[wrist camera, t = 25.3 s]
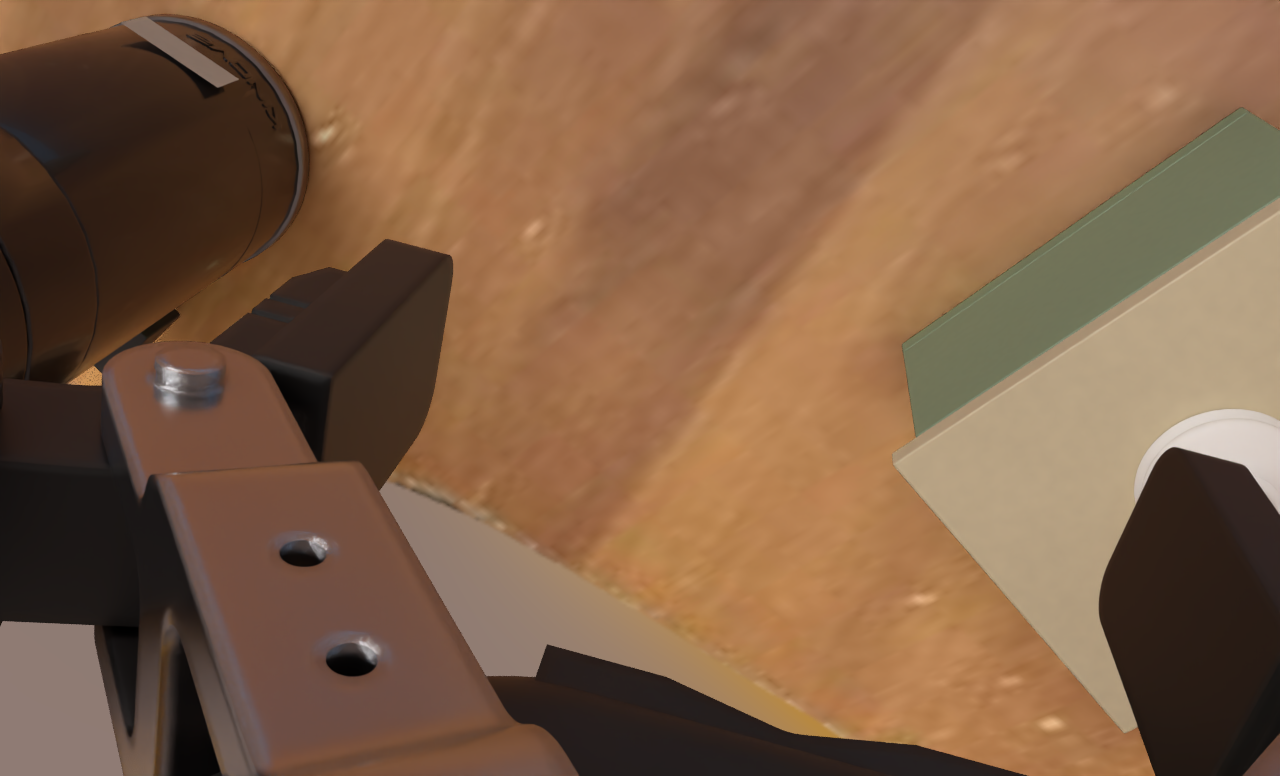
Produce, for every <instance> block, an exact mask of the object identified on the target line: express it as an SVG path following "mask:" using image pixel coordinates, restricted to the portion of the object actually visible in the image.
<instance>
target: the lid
mask: <svg viewBox="0 0 1280 776" xmlns="http://www.w3.org/2000/svg"><path fill="white" fill-rule="evenodd" d="M1221 409H1244V410H1251V411H1256V412H1260V413H1263V414H1266V415H1269V416H1271V417H1273V418H1275V419H1277V420H1279V421H1280V198H1278V199H1277V200H1275V201H1274V202H1272V203H1271V204H1269V205H1268V206H1266V207H1265V208H1263V209H1262V210H1260V211H1259V212H1257V213H1256V214H1254V215H1253V216H1251V217H1250V218H1248V219H1247V220H1245V221H1243V222H1242V223H1240V224H1239V225H1237V226H1236V227H1234V228H1233V229H1231V230H1230V231H1228V232H1227V233H1225V234H1224V235H1222V236H1221V237H1219V238H1218V239H1216V240H1215V241H1213V242H1212V243H1210V244H1209V245H1207V246H1206V247H1204V248H1203V249H1201V250H1200V251H1198V252H1197V253H1195V254H1194V255H1192V256H1190V257H1189V258H1187V259H1186V260H1184V261H1183V262H1181V263H1180V264H1178V265H1177V266H1175V267H1174V268H1172V269H1171V270H1169V271H1168V272H1166V273H1165V274H1163V275H1162V276H1160V277H1159V278H1157V279H1156V280H1154V281H1153V282H1151V283H1150V284H1148V285H1147V286H1145V287H1144V288H1142V289H1140V290H1139V291H1137V292H1136V293H1134V294H1133V295H1131V296H1130V297H1128V298H1127V299H1125V300H1124V301H1122V302H1121V303H1119V304H1118V305H1116V306H1115V307H1113V308H1112V309H1110V310H1109V311H1107V312H1106V313H1104V314H1103V315H1101V316H1100V317H1098V318H1097V319H1095V320H1094V321H1092V322H1091V323H1089V324H1087V325H1086V326H1084V327H1083V328H1081V329H1080V330H1078V331H1077V332H1075V333H1074V334H1072V335H1071V336H1069V337H1068V338H1066V339H1065V340H1063V341H1062V342H1060V343H1059V344H1057V345H1056V346H1054V347H1053V348H1051V349H1050V350H1048V351H1047V352H1045V353H1044V354H1042V355H1041V356H1039V357H1038V358H1036V359H1034V360H1033V361H1031V362H1030V363H1028V364H1027V365H1025V366H1024V367H1022V368H1021V369H1019V370H1018V371H1016V372H1015V373H1013V374H1012V375H1010V376H1009V377H1007V378H1006V379H1004V380H1003V381H1001V382H1000V383H998V384H997V385H995V386H994V387H992V388H991V389H989V390H988V391H986V392H985V393H983V394H981V395H980V396H978V397H977V398H975V399H974V400H972V401H971V402H969V403H968V404H966V405H965V406H963V407H962V408H960V409H959V410H957V411H956V412H954V413H953V414H951V415H950V416H948V417H947V418H945V419H944V420H942V421H941V422H939V423H938V424H936V425H935V426H933V427H932V428H930V429H928V430H927V431H925V432H924V433H922V434H921V435H919V436H918V437H916V438H915V439H913V440H912V441H910V442H909V443H907V444H906V445H904V446H903V447H901V448H900V449H898V450H897V451H895V452H894V453H893V454H892V460H893V466H894V467H895V468H896V469H897V470H898V472H899V473H900V474H901V475H902V476H903V477H904V478H905V480H906V481H907V482H908V483H909V484H910V485H911V487H912V488H913V489H914V490H915V491H916V492H917V494H918V495H919V496H920V497H921V498H922V499H923V501H924V502H925V503H926V504H927V505H928V506H929V508H930V509H931V510H932V511H933V512H934V513H935V515H936V516H937V517H938V518H939V519H940V520H941V521H942V523H943V524H944V525H945V526H946V527H947V528H948V530H949V531H950V532H951V533H952V534H953V535H954V537H955V538H956V539H957V540H958V541H959V542H960V544H961V545H962V546H963V547H964V548H965V549H966V551H967V552H968V553H969V554H970V555H971V556H972V558H973V559H974V560H975V561H976V562H977V563H978V564H979V566H980V567H981V568H982V569H983V570H984V571H985V573H986V574H987V575H988V576H989V577H990V578H991V580H992V581H993V582H994V583H995V584H996V585H997V587H998V588H999V589H1000V590H1001V591H1002V592H1003V594H1004V595H1005V596H1006V597H1007V598H1008V599H1009V601H1010V602H1011V603H1012V604H1013V605H1014V606H1015V607H1016V609H1017V610H1018V611H1019V612H1020V613H1021V614H1022V616H1023V617H1024V618H1025V619H1026V620H1027V621H1028V623H1029V624H1030V625H1031V626H1032V627H1033V628H1034V630H1035V631H1036V632H1037V633H1038V634H1039V635H1040V637H1041V638H1042V639H1043V640H1044V641H1045V642H1046V644H1047V645H1048V646H1049V647H1050V648H1051V649H1052V650H1053V652H1054V653H1055V654H1056V655H1057V656H1058V657H1059V659H1060V660H1061V661H1062V662H1063V663H1064V664H1065V666H1066V667H1067V668H1068V669H1069V670H1070V671H1071V673H1072V674H1073V675H1074V676H1075V677H1076V678H1077V680H1078V681H1079V682H1080V683H1081V684H1082V685H1083V687H1084V688H1085V689H1086V690H1087V691H1088V692H1089V693H1090V695H1091V696H1092V697H1093V698H1094V699H1095V700H1096V702H1097V703H1098V704H1099V705H1100V706H1101V707H1102V709H1103V710H1104V711H1105V712H1106V713H1107V714H1108V716H1109V717H1110V718H1111V719H1112V720H1113V721H1114V723H1115V724H1116V725H1117V726H1118V727H1119V728H1120V730H1121V731H1122V732H1123V733H1127V732H1129V731H1131V730H1133V729H1135V728H1137V727H1138V726H1137V723H1136V720H1135V717H1134V714H1133V712H1132V709H1131V706H1130V703H1129V700H1128V698H1127V695H1126V692H1125V689H1124V687H1123V684H1122V681H1121V678H1120V675H1119V673H1118V670H1117V667H1116V664H1115V662H1114V659H1113V656H1112V653H1111V650H1110V648H1109V645H1108V642H1107V639H1106V637H1105V634H1104V631H1103V628H1102V625H1101V622H1100V618H1099V594H1100V588H1101V583H1102V579H1103V576H1104V573H1105V570H1106V567H1107V565H1108V563H1109V560H1110V558H1111V556H1112V554H1113V552H1114V550H1115V548H1116V545H1117V543H1118V541H1119V539H1120V537H1121V535H1122V533H1123V531H1124V528H1125V526H1126V524H1127V522H1128V520H1129V518H1130V516H1131V513H1132V511H1133V509H1134V507H1135V505H1136V504H1135V498H1134V482H1135V477H1136V473H1137V470H1138V467H1139V464H1140V462H1141V460H1142V458H1143V456H1144V455H1145V453H1146V452H1147V450H1148V449H1149V448H1150V446H1151V445H1152V444H1153V443H1154V442H1155V441H1156V440H1157V439H1158V438H1159V437H1160V436H1161V435H1162V434H1163V433H1164V432H1166V431H1167V430H1168V429H1170V428H1171V427H1173V426H1174V425H1176V424H1178V423H1179V422H1181V421H1183V420H1185V419H1188V418H1190V417H1192V416H1195V415H1198V414H1201V413H1205V412H1209V411H1214V410H1221Z"/></svg>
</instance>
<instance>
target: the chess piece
mask: <svg viewBox="0 0 1280 776" xmlns="http://www.w3.org/2000/svg"><path fill="white" fill-rule="evenodd" d="M1172 447H1178V448H1182V449H1186V450H1190V451H1193V452H1197V453H1201V454H1205V455H1209V456H1213V457H1216V458H1220V459H1224V460H1228V461H1232V462H1235V463H1239V464H1242V465H1244V466H1246V467H1247V468H1248V469H1249V471H1250V472H1251V474H1252V475H1253V477H1254V478H1255V480H1256V481H1257V482H1258V484H1259V485H1260V487H1261V488H1262V490H1263V491H1264V493H1265V494H1266V495H1267V497H1268V498H1269V500H1270V501H1271V503H1272V504H1273V506H1274V507H1275V509H1276V510H1277V511H1278V513H1279V514H1280V421H1279V420H1277V419H1275V418H1273V417H1271V416H1269V415H1266V414H1263V413H1260V412H1256V411H1251V410H1244V409H1221V410H1214V411H1209V412H1205V413H1201V414H1198V415H1195V416H1192V417H1190V418H1188V419H1185V420H1183V421H1181V422H1179V423H1178V424H1176V425H1174V426H1173V427H1171V428H1170V429H1168V430H1167V431H1166V432H1164V433H1163V434H1162V435H1161V436H1160V437H1159V438H1158V439H1157V440H1156V441H1155V442H1154V443H1153V444H1152V445H1151V446H1150V448H1149V449H1148V450H1147V452H1146V453H1145V455H1144V456H1143V458H1142V460H1141V462H1140V464H1139V467H1138V470H1137V473H1136V477H1135V482H1134V498H1135V504H1136V503H1137V501H1138V498H1139V496H1140V494H1141V492H1142V490H1143V488H1144V486H1145V484H1146V481H1147V479H1148V477H1149V475H1150V473H1151V471H1152V469H1153V467H1154V465H1155V463H1156V462H1157V460H1158V459H1159V457H1160V456H1161V455H1162V454H1163V453H1164V452H1165V451H1166V450H1168V449H1169V448H1172Z"/></svg>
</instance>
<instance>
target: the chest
mask: <svg viewBox="0 0 1280 776" xmlns="http://www.w3.org/2000/svg"><path fill="white" fill-rule="evenodd" d="M1278 198H1280V130H1278V129H1276V128H1275V127H1273V126H1271V125H1270V124H1268V123H1267V122H1265V121H1263V120H1262V119H1260V118H1259V117H1257V116H1255V115H1254V114H1252V113H1250V112H1249V111H1247V110H1246V109H1244V108H1242V107H1241V108H1239V109H1238V110H1236V111H1235V112H1233V113H1232V114H1230V115H1229V116H1228V117H1226V118H1225V119H1223V120H1222V121H1220V122H1219V123H1218V124H1216V125H1215V126H1213V127H1212V128H1210V129H1209V130H1208V131H1206V132H1205V133H1203V134H1202V135H1200V136H1199V137H1198V138H1196V139H1195V140H1193V141H1192V142H1190V143H1189V144H1188V145H1186V146H1185V147H1183V148H1182V149H1180V150H1179V151H1178V152H1176V153H1175V154H1173V155H1172V156H1170V157H1169V158H1167V159H1166V160H1165V161H1163V162H1162V163H1160V164H1159V165H1157V166H1156V167H1155V168H1153V169H1152V170H1150V171H1149V172H1147V173H1146V174H1145V175H1143V176H1142V177H1140V178H1139V179H1137V180H1136V181H1135V182H1133V183H1132V184H1130V185H1129V186H1127V187H1126V188H1125V189H1123V190H1122V191H1120V192H1119V193H1117V194H1116V195H1115V196H1113V197H1112V198H1110V199H1109V200H1107V201H1106V202H1105V203H1103V204H1102V205H1100V206H1099V207H1097V208H1096V209H1095V210H1093V211H1092V212H1090V213H1089V214H1087V215H1086V216H1085V217H1083V218H1082V219H1080V220H1079V221H1077V222H1076V223H1075V224H1073V225H1072V226H1070V227H1069V228H1067V229H1066V230H1065V231H1063V232H1062V233H1060V234H1059V235H1057V236H1056V237H1055V238H1053V239H1052V240H1050V241H1049V242H1047V243H1046V244H1045V245H1043V246H1042V247H1040V248H1039V249H1037V250H1036V251H1035V252H1033V253H1032V254H1030V255H1029V256H1027V257H1026V258H1024V259H1023V260H1022V261H1020V262H1019V263H1017V264H1016V265H1014V266H1013V267H1012V268H1010V269H1009V270H1007V271H1006V272H1004V273H1003V274H1002V275H1000V276H999V277H997V278H996V279H994V280H993V281H992V282H990V283H989V284H987V285H986V286H984V287H983V288H982V289H980V290H979V291H977V292H976V293H974V294H973V295H972V296H970V297H969V298H967V299H966V300H964V301H963V302H962V303H960V304H959V305H957V306H956V307H954V308H953V309H952V310H950V311H949V312H947V313H946V314H944V315H943V316H942V317H940V318H939V319H937V320H936V321H934V322H933V323H932V324H930V325H929V326H927V327H926V328H924V329H923V330H922V331H920V332H919V333H917V334H916V335H914V336H913V337H912V338H910V339H909V340H907V341H906V342H904V343H903V344H902V349H903V355H904V362H905V368H906V375H907V382H908V389H909V395H910V402H911V409H912V416H913V423H914V429H915V436H916V437H918V436H919V435H921V434H922V433H924V432H925V431H927V430H928V429H930V428H932V427H933V426H935V425H936V424H938V423H939V422H941V421H942V420H944V419H945V418H947V417H948V416H950V415H951V414H953V413H954V412H956V411H957V410H959V409H960V408H962V407H963V406H965V405H966V404H968V403H969V402H971V401H972V400H974V399H975V398H977V397H978V396H980V395H981V394H983V393H985V392H986V391H988V390H989V389H991V388H992V387H994V386H995V385H997V384H998V383H1000V382H1001V381H1003V380H1004V379H1006V378H1007V377H1009V376H1010V375H1012V374H1013V373H1015V372H1016V371H1018V370H1019V369H1021V368H1022V367H1024V366H1025V365H1027V364H1028V363H1030V362H1031V361H1033V360H1034V359H1036V358H1038V357H1039V356H1041V355H1042V354H1044V353H1045V352H1047V351H1048V350H1050V349H1051V348H1053V347H1054V346H1056V345H1057V344H1059V343H1060V342H1062V341H1063V340H1065V339H1066V338H1068V337H1069V336H1071V335H1072V334H1074V333H1075V332H1077V331H1078V330H1080V329H1081V328H1083V327H1084V326H1086V325H1087V324H1089V323H1091V322H1092V321H1094V320H1095V319H1097V318H1098V317H1100V316H1101V315H1103V314H1104V313H1106V312H1107V311H1109V310H1110V309H1112V308H1113V307H1115V306H1116V305H1118V304H1119V303H1121V302H1122V301H1124V300H1125V299H1127V298H1128V297H1130V296H1131V295H1133V294H1134V293H1136V292H1137V291H1139V290H1140V289H1142V288H1144V287H1145V286H1147V285H1148V284H1150V283H1151V282H1153V281H1154V280H1156V279H1157V278H1159V277H1160V276H1162V275H1163V274H1165V273H1166V272H1168V271H1169V270H1171V269H1172V268H1174V267H1175V266H1177V265H1178V264H1180V263H1181V262H1183V261H1184V260H1186V259H1187V258H1189V257H1190V256H1192V255H1194V254H1195V253H1197V252H1198V251H1200V250H1201V249H1203V248H1204V247H1206V246H1207V245H1209V244H1210V243H1212V242H1213V241H1215V240H1216V239H1218V238H1219V237H1221V236H1222V235H1224V234H1225V233H1227V232H1228V231H1230V230H1231V229H1233V228H1234V227H1236V226H1237V225H1239V224H1240V223H1242V222H1243V221H1245V220H1247V219H1248V218H1250V217H1251V216H1253V215H1254V214H1256V213H1257V212H1259V211H1260V210H1262V209H1263V208H1265V207H1266V206H1268V205H1269V204H1271V203H1272V202H1274V201H1275V200H1277V199H1278Z"/></svg>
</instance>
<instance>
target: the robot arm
mask: <svg viewBox="0 0 1280 776" xmlns="http://www.w3.org/2000/svg"><path fill="white" fill-rule="evenodd" d="M308 174H309V153H308V144H307V139H306V133H305V129H304V126H303V122H302V119H301V116H300V114H299V111H298V109H297V106H296V104H295V102H294V100H293V98H292V96H291V94H290V92H289V91H288V89H287V87H286V86H285V84H284V83H283V81H282V80H281V78H280V77H279V76H278V74H277V73H276V72H275V70H274V69H273V68H272V67H271V66H270V64H269V63H268V62H267V61H266V60H265V59H264V58H263V57H262V56H261V55H260V54H259V53H258V52H257V51H256V50H254V49H253V48H252V47H251V46H250V45H248V44H247V43H246V42H244V41H243V40H241V39H240V38H239V37H237V36H236V35H234V34H232V33H230V32H229V31H227V30H225V29H223V28H221V27H219V26H217V25H215V24H212V23H210V22H207V21H204V20H201V19H197V18H193V17H189V16H182V15H172V14H161V15H150V16H145V17H140V18H136V19H132V20H128V21H124V22H121V23H119V24H117V25H115V26H113V27H110V28H108V29H104V30H100V31H96V32H91V33H85V34H81V35H77V36H73V37H69V38H65V39H61V40H57V41H53V42H49V43H45V44H41V45H37V46H32V47H28V48H24V49H20V50H16V51H12V52H8V53H4V54H0V625H1V623H2V621H15V622H37V623H60V624H82V625H94V638H95V646H96V650H97V655H98V659H99V664H100V669H101V673H102V678H103V683H104V687H105V692H106V696H107V701H108V706H109V710H110V715H111V719H112V724H113V729H114V733H115V738H116V742H117V747H118V752H119V757H120V761H121V766H122V770H123V775H124V776H1027V775H1023V774H1019V773H1016V772H1012V771H1008V770H1005V769H1001V768H997V767H994V766H990V765H986V764H983V763H979V762H975V761H972V760H968V759H964V758H961V757H957V756H954V755H950V754H946V753H943V752H939V751H935V750H932V749H928V748H924V747H921V746H917V745H908V744H897V743H886V742H875V741H864V740H853V739H842V738H830V737H819V736H808V735H799V734H794V733H790V732H786V731H783V730H781V729H778V728H776V727H774V726H772V725H769V724H767V723H765V722H763V721H761V720H758V719H756V718H754V717H751V716H750V715H748V714H745V713H743V712H741V711H739V710H736V709H735V708H733V707H730V706H728V705H726V704H724V703H722V702H719V701H717V700H715V699H713V698H711V697H708V696H706V695H704V694H702V693H700V692H698V691H695V690H693V689H691V688H689V687H687V686H685V685H682V684H680V683H678V682H676V681H674V680H672V679H670V678H667V677H664V676H661V675H657V674H653V673H650V672H645V671H642V670H639V669H635V668H631V667H627V666H624V665H620V664H617V663H613V662H610V661H605V660H602V659H598V658H595V657H591V656H587V655H583V654H580V653H577V652H573V651H569V650H566V649H562V648H558V647H554V646H551V645H547V646H546V649H545V652H544V655H543V658H542V661H541V663H540V666H539V669H538V672H537V675H536V677H521V676H520V677H519V676H486V675H485V674H484V672H483V670H482V669H481V667H480V665H479V663H478V662H477V660H476V658H475V656H474V655H473V653H472V651H471V650H470V648H469V646H468V644H467V643H466V641H465V639H464V637H463V636H462V634H461V632H460V630H459V629H458V627H457V626H456V624H455V622H454V620H453V619H452V617H451V615H450V613H449V611H448V610H447V608H446V606H445V605H444V603H443V601H442V599H441V598H440V596H439V594H438V593H437V591H436V589H435V587H434V586H433V584H432V582H431V580H430V579H429V577H428V575H427V574H426V572H425V570H424V568H423V567H422V565H421V563H420V561H419V560H418V558H417V556H416V555H415V553H414V551H413V549H412V548H411V546H410V544H409V542H408V541H407V539H406V537H405V536H404V534H403V532H402V530H401V529H400V527H399V525H398V523H397V522H396V520H395V518H394V517H393V515H392V513H391V512H390V510H389V508H388V506H387V504H386V503H385V501H384V499H383V498H382V496H381V494H380V492H379V490H380V489H381V488H382V486H383V485H384V484H385V482H386V481H387V479H388V478H389V476H390V475H391V474H392V472H393V471H394V469H395V468H396V466H397V465H398V464H399V462H400V461H401V459H402V458H403V456H404V455H405V454H406V452H407V451H408V449H409V448H410V446H411V445H412V444H413V442H414V441H415V439H416V438H417V436H418V435H419V433H420V431H421V429H422V426H423V424H424V422H425V419H426V416H427V413H428V411H429V407H430V404H431V400H432V396H433V392H434V388H435V382H436V376H437V370H438V364H439V358H440V352H441V346H442V340H443V334H444V328H445V321H446V315H447V309H448V303H449V297H450V291H451V285H452V277H453V260H452V257H451V256H450V255H447V254H443V253H439V252H436V251H432V250H428V249H424V248H420V247H417V246H413V245H409V244H405V243H401V242H397V241H394V240H390V239H385V240H384V241H382V242H381V243H380V244H379V245H378V246H377V247H375V248H374V249H373V250H372V251H371V252H370V253H369V254H367V255H366V256H365V257H364V258H363V259H362V260H360V261H359V262H358V263H357V264H356V265H355V266H354V267H352V268H351V269H350V270H349V271H348V272H346V271H342V270H338V269H335V268H331V267H328V268H325V269H321V270H317V271H314V272H310V273H307V274H303V275H299V276H296V277H292V278H291V279H290V280H289V281H287V282H286V283H285V284H283V285H282V286H281V287H280V288H278V289H277V290H276V291H275V292H273V293H272V294H271V295H270V299H267V298H266V299H265V300H263V301H262V302H261V303H260V304H258V305H257V306H256V307H254V308H253V310H252V313H247V314H246V315H244V316H243V317H242V318H241V319H239V320H238V321H237V322H236V323H234V324H233V325H232V326H230V327H229V328H228V329H227V330H225V331H224V332H223V333H222V334H220V335H219V336H218V337H217V338H215V339H214V340H213V341H212V342H210V343H203V342H192V341H167V342H156V343H153V342H154V341H155V340H156V339H157V338H158V337H159V336H160V335H161V334H162V333H163V332H164V331H165V330H166V329H167V328H168V327H169V326H170V325H171V324H172V323H173V322H174V321H175V320H176V319H177V318H178V317H179V316H180V314H179V313H178V312H177V311H176V310H175V309H176V308H177V307H178V306H180V305H181V304H183V303H184V302H186V301H187V300H188V299H190V298H191V297H193V296H194V295H196V294H197V293H199V292H200V291H201V290H203V289H204V288H206V287H207V286H209V285H210V284H211V283H213V282H215V281H216V280H218V279H219V278H221V277H222V276H224V275H225V274H227V273H228V272H230V271H231V270H232V269H234V268H235V267H237V266H238V265H240V264H241V263H243V262H246V261H248V260H250V259H252V258H254V257H255V256H257V255H258V254H260V253H261V252H263V251H264V250H266V249H267V248H269V247H270V246H271V245H272V244H274V243H275V242H276V241H277V240H278V239H279V238H280V237H281V236H282V235H283V234H284V233H285V232H286V231H287V229H288V228H289V227H290V225H291V224H292V223H293V221H294V219H295V217H296V216H297V214H298V212H299V209H300V207H301V205H302V202H303V199H304V196H305V192H306V188H307V182H308ZM92 366H95V367H96V368H97V369H98V370H99V371H100V372H101V373H102V386H86V385H71V384H68V383H69V382H71V381H72V380H73V379H75V378H76V377H78V376H79V375H81V374H82V373H84V372H85V371H86V370H88V369H89V368H91V367H92ZM1099 618H1100V622H1101V625H1102V628H1103V631H1104V634H1105V637H1106V639H1107V642H1108V645H1109V648H1110V650H1111V653H1112V656H1113V659H1114V662H1115V664H1116V667H1117V670H1118V673H1119V675H1120V678H1121V681H1122V684H1123V687H1124V689H1125V692H1126V695H1127V698H1128V700H1129V703H1130V706H1131V709H1132V712H1133V714H1134V717H1135V720H1136V723H1137V726H1138V728H1139V731H1140V734H1141V737H1142V739H1143V742H1144V745H1145V748H1146V751H1147V753H1148V756H1149V759H1150V762H1151V764H1152V767H1153V770H1154V773H1155V776H1280V514H1279V513H1278V511H1277V510H1276V509H1275V507H1274V506H1273V504H1272V503H1271V501H1270V500H1269V498H1268V497H1267V495H1266V494H1265V493H1264V491H1263V490H1262V488H1261V487H1260V485H1259V484H1258V482H1257V481H1256V480H1255V478H1254V477H1253V475H1252V474H1251V472H1250V471H1249V469H1248V468H1247V467H1246V466H1244V465H1242V464H1239V463H1235V462H1232V461H1228V460H1224V459H1220V458H1216V457H1213V456H1209V455H1205V454H1201V453H1197V452H1193V451H1190V450H1186V449H1182V448H1178V447H1172V448H1169V449H1168V450H1166V451H1165V452H1164V453H1163V454H1162V455H1161V456H1160V457H1159V459H1158V460H1157V462H1156V463H1155V465H1154V467H1153V469H1152V471H1151V473H1150V475H1149V477H1148V479H1147V481H1146V484H1145V486H1144V488H1143V490H1142V492H1141V494H1140V496H1139V498H1138V501H1137V503H1136V505H1135V507H1134V509H1133V511H1132V513H1131V516H1130V518H1129V520H1128V522H1127V524H1126V526H1125V528H1124V531H1123V533H1122V535H1121V537H1120V539H1119V541H1118V543H1117V545H1116V548H1115V550H1114V552H1113V554H1112V556H1111V558H1110V560H1109V563H1108V565H1107V567H1106V570H1105V573H1104V576H1103V579H1102V583H1101V588H1100V594H1099Z"/></svg>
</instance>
